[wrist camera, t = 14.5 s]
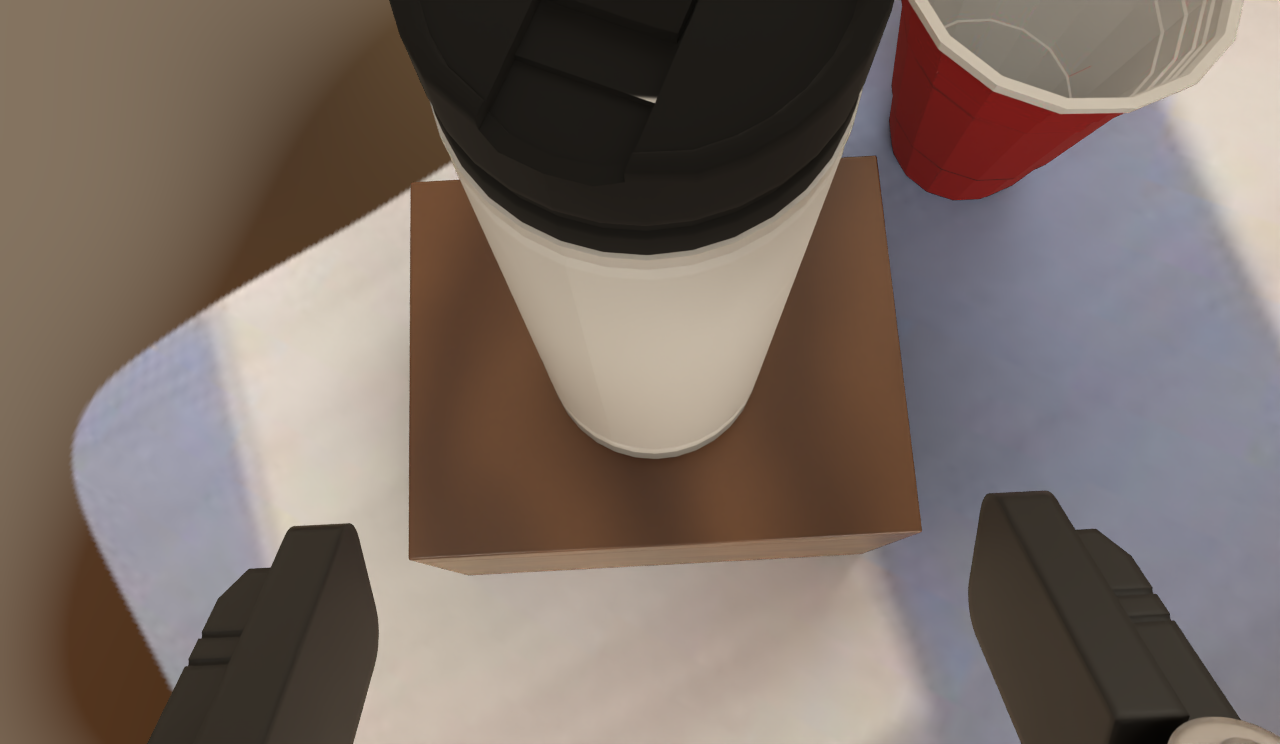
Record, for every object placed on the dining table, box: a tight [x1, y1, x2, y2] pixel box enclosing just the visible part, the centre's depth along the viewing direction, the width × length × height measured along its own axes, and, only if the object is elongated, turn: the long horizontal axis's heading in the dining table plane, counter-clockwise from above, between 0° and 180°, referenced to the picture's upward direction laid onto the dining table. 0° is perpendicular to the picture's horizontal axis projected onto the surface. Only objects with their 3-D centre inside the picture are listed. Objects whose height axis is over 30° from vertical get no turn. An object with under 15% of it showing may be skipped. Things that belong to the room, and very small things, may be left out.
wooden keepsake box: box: [409, 156, 922, 575], centre depth 35 cm, size 15×12×9 cm
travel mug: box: [389, 0, 894, 459], centre depth 21 cm, size 6×7×20 cm
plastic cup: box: [889, 0, 1244, 200], centre depth 36 cm, size 11×11×12 cm
